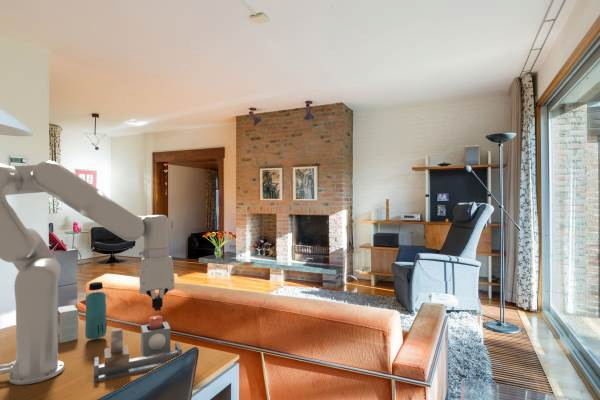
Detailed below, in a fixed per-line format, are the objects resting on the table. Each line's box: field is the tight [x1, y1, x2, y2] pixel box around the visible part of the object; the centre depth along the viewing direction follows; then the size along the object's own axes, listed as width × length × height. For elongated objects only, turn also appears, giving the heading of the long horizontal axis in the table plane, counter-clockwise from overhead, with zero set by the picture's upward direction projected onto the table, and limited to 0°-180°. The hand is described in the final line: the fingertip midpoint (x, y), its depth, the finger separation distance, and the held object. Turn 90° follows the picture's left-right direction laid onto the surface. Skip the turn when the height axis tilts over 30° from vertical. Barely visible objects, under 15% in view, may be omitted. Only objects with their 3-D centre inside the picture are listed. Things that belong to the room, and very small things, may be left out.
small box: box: [58, 304, 79, 344], centre depth 126 cm, size 8×6×10 cm
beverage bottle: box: [84, 281, 108, 340], centre depth 125 cm, size 6×7×20 cm
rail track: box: [93, 342, 183, 383], centre depth 105 cm, size 23×8×4 cm, turn 119°
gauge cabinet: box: [140, 321, 171, 357], centre depth 115 cm, size 8×7×8 cm
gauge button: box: [148, 315, 163, 329], centre depth 115 cm, size 4×4×3 cm
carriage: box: [104, 327, 130, 369], centre depth 102 cm, size 6×7×9 cm
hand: (157, 309), depth 116 cm, fingers closed
